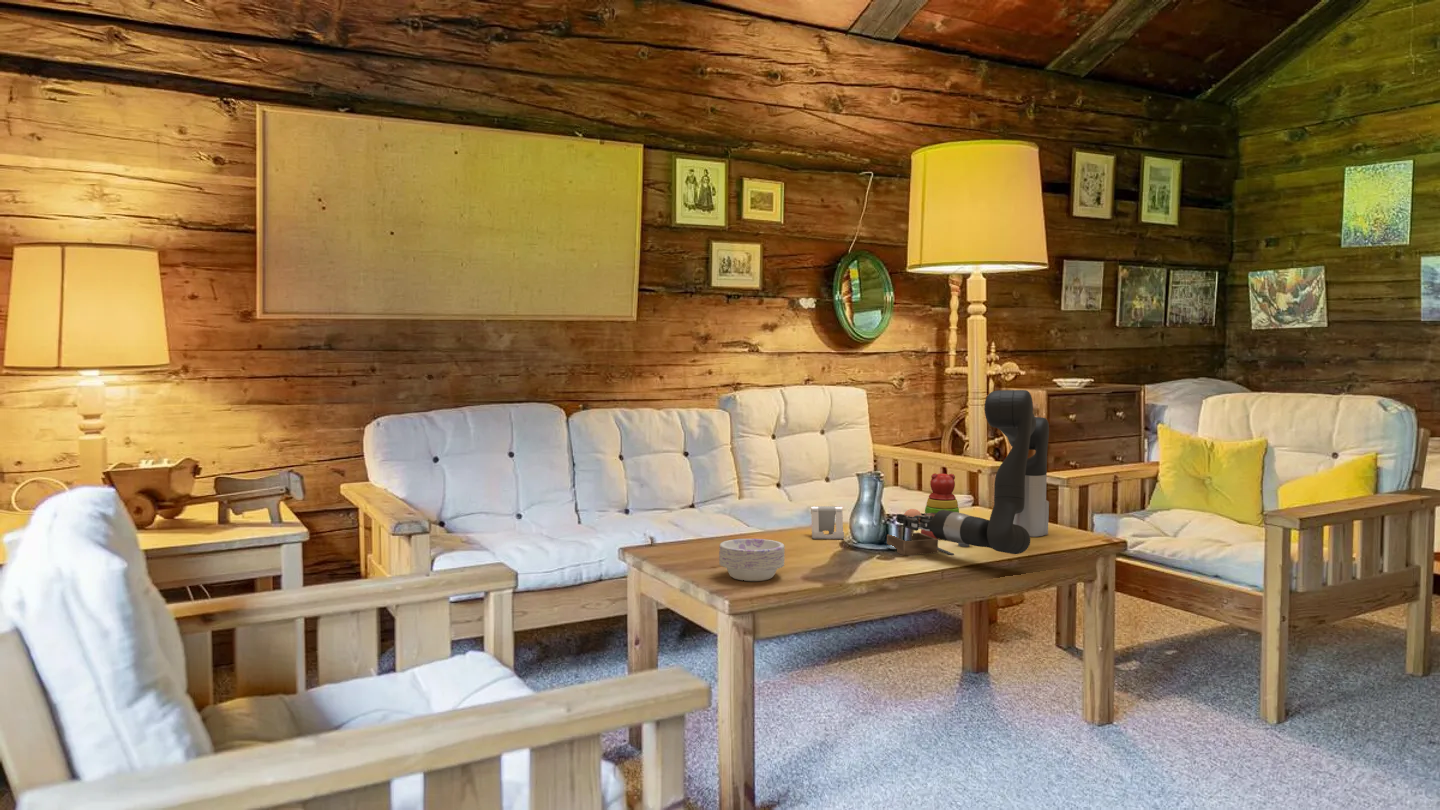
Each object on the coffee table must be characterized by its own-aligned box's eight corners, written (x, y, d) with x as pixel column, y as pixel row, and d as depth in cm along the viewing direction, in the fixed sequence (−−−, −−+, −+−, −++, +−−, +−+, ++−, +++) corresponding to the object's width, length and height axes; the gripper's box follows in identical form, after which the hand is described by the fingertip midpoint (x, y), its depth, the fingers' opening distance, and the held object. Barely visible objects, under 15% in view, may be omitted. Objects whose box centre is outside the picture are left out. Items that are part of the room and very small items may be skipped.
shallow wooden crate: (918, 545, 272) (918, 532, 272) (937, 552, 263) (937, 539, 263) (886, 547, 269) (886, 534, 269) (904, 555, 260) (905, 541, 260)
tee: (966, 543, 274) (966, 524, 274) (973, 546, 270) (974, 526, 270) (953, 544, 273) (954, 524, 272) (961, 547, 269) (962, 527, 269)
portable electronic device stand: (812, 540, 279) (812, 509, 278) (810, 534, 287) (810, 504, 286) (843, 540, 279) (844, 510, 278) (840, 534, 286) (841, 505, 286)
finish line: (921, 542, 276) (921, 541, 276) (953, 554, 261) (953, 553, 261) (917, 542, 275) (917, 541, 275) (949, 555, 260) (949, 553, 260)
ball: (916, 525, 269) (916, 506, 268) (925, 529, 264) (926, 510, 263) (899, 526, 267) (899, 507, 267) (908, 530, 262) (909, 511, 262)
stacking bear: (958, 533, 289) (959, 471, 287) (963, 540, 279) (964, 476, 277) (920, 532, 290) (921, 470, 288) (923, 539, 280) (924, 475, 278)
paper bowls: (763, 566, 247) (763, 534, 247) (796, 580, 234) (797, 546, 233) (707, 573, 240) (707, 540, 239) (739, 588, 227) (739, 553, 226)
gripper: (974, 509, 258) (923, 500, 271) (935, 515, 249) (885, 505, 263) (973, 538, 258) (923, 527, 272) (934, 545, 250) (885, 534, 263)
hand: (905, 516), depth 267 cm, fingers closed on ball, 5 cm apart
